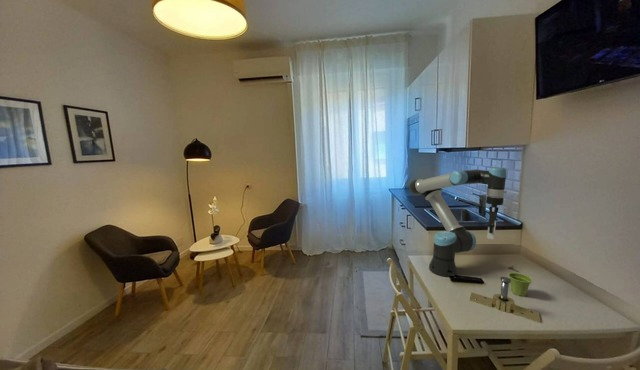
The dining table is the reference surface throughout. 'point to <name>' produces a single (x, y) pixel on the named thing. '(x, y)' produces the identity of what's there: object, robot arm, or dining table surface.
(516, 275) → the plant pot
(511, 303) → the hinge
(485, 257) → the dining table surface
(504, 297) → the pin
